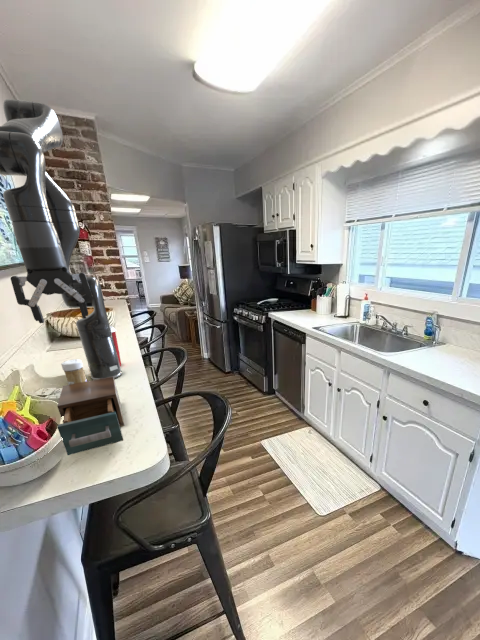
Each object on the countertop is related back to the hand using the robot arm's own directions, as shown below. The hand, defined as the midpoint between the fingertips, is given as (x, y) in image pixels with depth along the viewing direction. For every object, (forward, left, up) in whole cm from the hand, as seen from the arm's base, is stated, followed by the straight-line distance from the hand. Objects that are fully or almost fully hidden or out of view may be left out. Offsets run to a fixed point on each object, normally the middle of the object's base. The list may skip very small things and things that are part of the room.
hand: (63, 320), depth 73 cm
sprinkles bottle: (-5, -2, -25) cm, 26 cm away
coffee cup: (-40, +6, -25) cm, 48 cm away
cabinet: (+6, +1, -25) cm, 26 cm away
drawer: (+17, +1, -24) cm, 30 cm away
